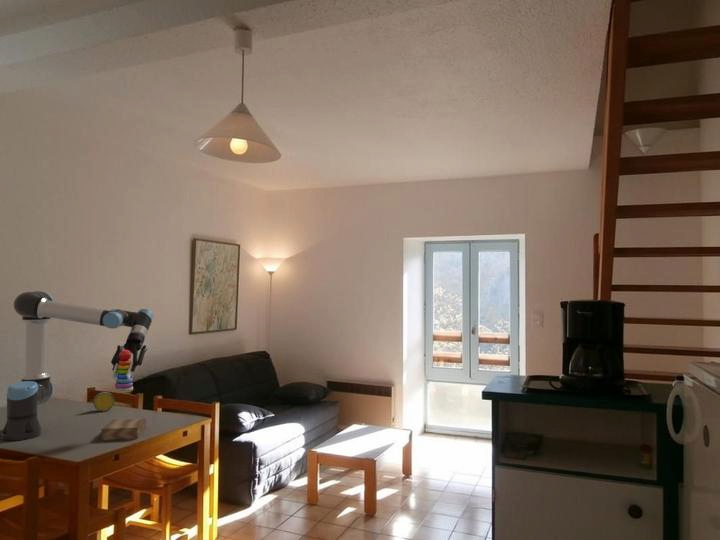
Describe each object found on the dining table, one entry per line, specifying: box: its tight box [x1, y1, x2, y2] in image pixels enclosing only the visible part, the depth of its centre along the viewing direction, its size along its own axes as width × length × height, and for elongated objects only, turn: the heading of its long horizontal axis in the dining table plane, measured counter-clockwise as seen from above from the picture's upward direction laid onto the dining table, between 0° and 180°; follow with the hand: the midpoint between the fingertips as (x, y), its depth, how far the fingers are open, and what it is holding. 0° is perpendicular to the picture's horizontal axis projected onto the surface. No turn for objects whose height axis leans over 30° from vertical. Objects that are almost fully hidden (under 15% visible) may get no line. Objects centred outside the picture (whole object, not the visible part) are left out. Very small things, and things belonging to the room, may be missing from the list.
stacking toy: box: [113, 349, 134, 393], centre depth 237 cm, size 8×8×19 cm
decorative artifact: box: [92, 391, 115, 412], centre depth 282 cm, size 10×7×10 cm
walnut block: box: [100, 418, 147, 441], centre depth 237 cm, size 15×15×5 cm
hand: (120, 377), depth 234 cm, fingers closed on stacking toy, 6 cm apart
